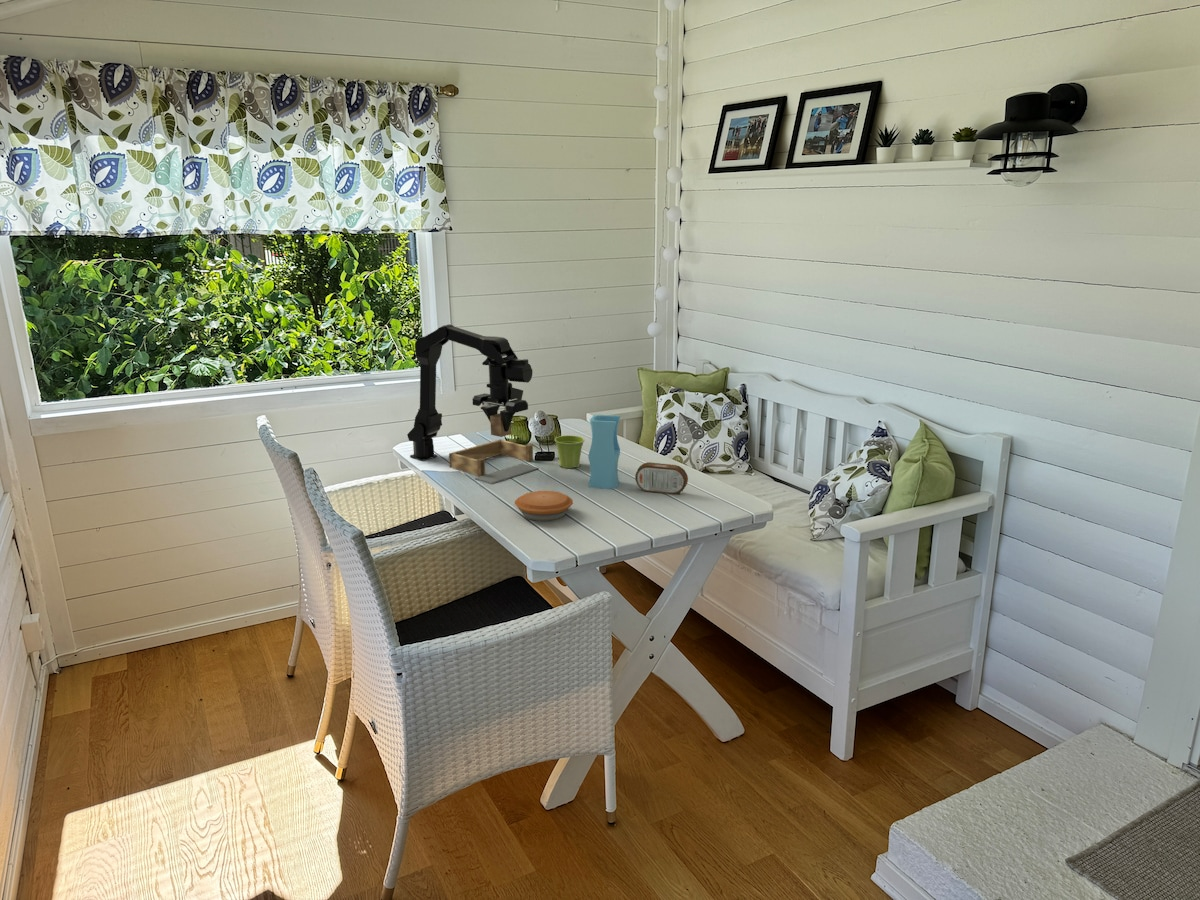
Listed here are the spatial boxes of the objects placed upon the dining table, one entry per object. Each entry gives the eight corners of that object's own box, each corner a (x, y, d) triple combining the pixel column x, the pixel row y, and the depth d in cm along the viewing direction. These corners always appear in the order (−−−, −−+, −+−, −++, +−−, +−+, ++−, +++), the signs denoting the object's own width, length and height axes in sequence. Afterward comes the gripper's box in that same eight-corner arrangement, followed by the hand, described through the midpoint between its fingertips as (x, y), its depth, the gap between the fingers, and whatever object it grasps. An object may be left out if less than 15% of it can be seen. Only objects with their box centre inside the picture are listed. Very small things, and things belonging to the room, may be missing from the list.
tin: (687, 493, 252) (688, 465, 250) (685, 496, 249) (686, 468, 247) (636, 488, 256) (637, 460, 253) (634, 491, 253) (634, 463, 250)
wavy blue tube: (614, 489, 255) (615, 422, 249) (588, 487, 256) (588, 420, 251) (619, 480, 262) (620, 415, 257) (593, 479, 264) (594, 414, 258)
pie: (542, 500, 245) (542, 483, 244) (584, 513, 236) (584, 495, 234) (502, 515, 234) (502, 497, 232) (545, 528, 224) (545, 510, 223)
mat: (474, 479, 263) (474, 477, 263) (522, 464, 277) (522, 463, 277) (491, 484, 258) (491, 482, 258) (538, 469, 273) (538, 467, 273)
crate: (448, 467, 274) (448, 451, 272) (501, 452, 290) (501, 437, 289) (480, 476, 265) (480, 460, 263) (532, 460, 282) (532, 445, 280)
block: (491, 434, 269) (490, 415, 267) (501, 431, 272) (500, 413, 271) (501, 437, 266) (500, 417, 265) (511, 434, 270) (510, 415, 268)
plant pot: (586, 462, 281) (586, 435, 278) (582, 470, 272) (582, 443, 269) (557, 461, 282) (556, 434, 279) (552, 469, 273) (552, 442, 270)
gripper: (539, 379, 265) (541, 429, 269) (496, 372, 276) (498, 421, 281) (513, 385, 257) (515, 436, 261) (470, 378, 268) (472, 427, 272)
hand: (501, 430), depth 269 cm, fingers closed on block, 4 cm apart
